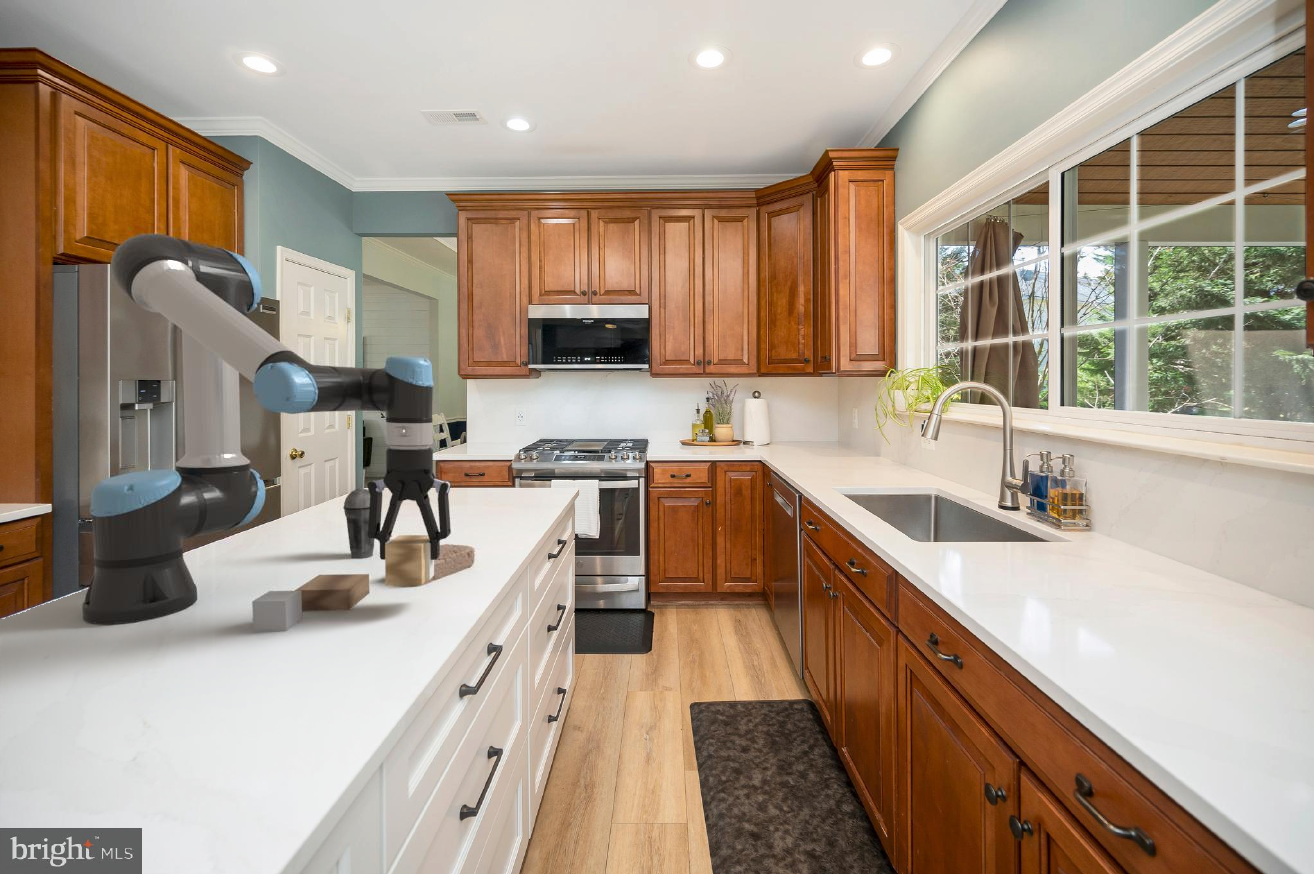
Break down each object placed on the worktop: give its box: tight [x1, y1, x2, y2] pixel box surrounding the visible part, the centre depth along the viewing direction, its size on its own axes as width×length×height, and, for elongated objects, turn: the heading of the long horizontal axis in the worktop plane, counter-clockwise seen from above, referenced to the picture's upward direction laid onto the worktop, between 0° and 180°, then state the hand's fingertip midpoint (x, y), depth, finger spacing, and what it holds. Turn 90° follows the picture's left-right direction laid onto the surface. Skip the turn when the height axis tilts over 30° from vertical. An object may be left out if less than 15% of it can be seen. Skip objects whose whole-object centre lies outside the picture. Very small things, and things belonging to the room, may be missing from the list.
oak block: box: [384, 534, 430, 587], centre depth 106 cm, size 6×7×7 cm
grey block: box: [251, 590, 303, 633], centre depth 98 cm, size 5×5×5 cm
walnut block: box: [294, 573, 370, 612], centre depth 110 cm, size 9×9×4 cm
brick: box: [414, 543, 476, 588], centre depth 127 cm, size 16×8×5 cm, turn 156°
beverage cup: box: [343, 469, 375, 559], centre depth 139 cm, size 7×7×20 cm
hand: (410, 577), depth 107 cm, fingers closed on oak block, 6 cm apart
